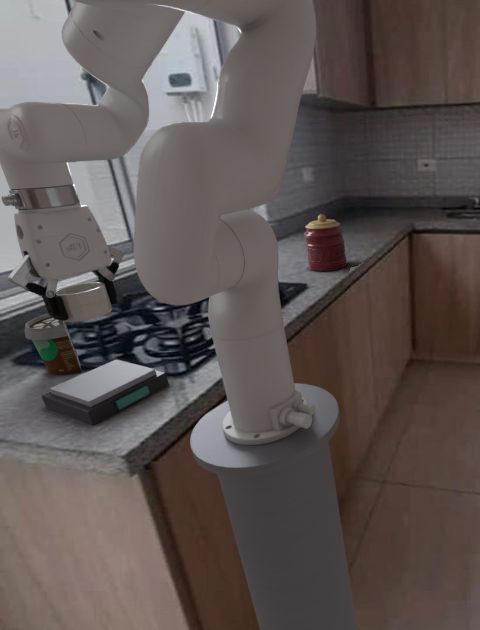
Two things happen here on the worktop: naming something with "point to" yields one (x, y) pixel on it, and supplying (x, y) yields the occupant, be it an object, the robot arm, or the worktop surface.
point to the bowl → (85, 301)
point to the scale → (104, 391)
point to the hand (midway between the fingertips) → (86, 310)
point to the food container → (53, 344)
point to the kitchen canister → (325, 245)
